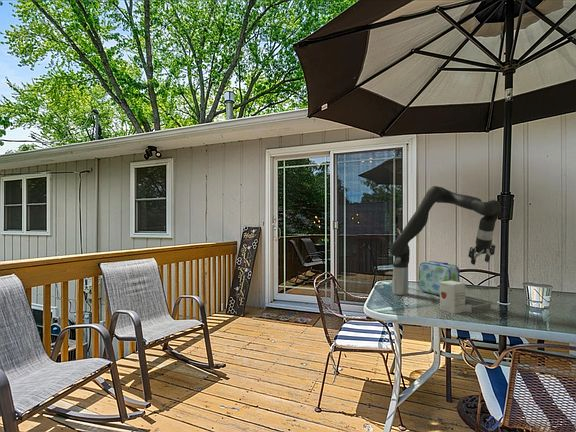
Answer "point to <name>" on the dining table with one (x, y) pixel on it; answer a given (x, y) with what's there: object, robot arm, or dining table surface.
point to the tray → (477, 305)
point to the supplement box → (452, 296)
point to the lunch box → (436, 275)
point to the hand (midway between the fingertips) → (479, 262)
